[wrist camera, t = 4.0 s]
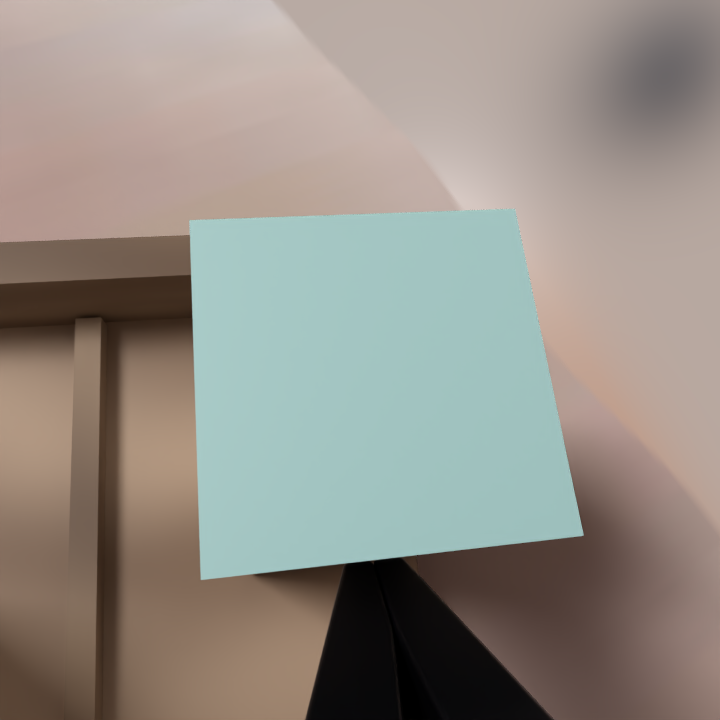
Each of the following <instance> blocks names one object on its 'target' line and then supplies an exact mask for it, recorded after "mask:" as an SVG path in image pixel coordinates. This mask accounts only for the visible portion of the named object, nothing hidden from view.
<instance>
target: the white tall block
mask: <svg viewBox="0 0 720 720" xmlns="http://www.w3.org/2000/svg"><path fill="white" fill-rule="evenodd" d="M189 221H190V253H191V285H192V317H193V348H194V380H195V412H196V444H197V476H198V507H199V539H200V571H201V580H206V579H215V578H223V577H232V576H241V575H250V574H258V573H267V572H276V571H284V570H293V569H301V568H310V567H319V566H327V565H336V564H345V563H353V562H362V561H371V560H379V559H388V558H396V557H405V556H414V555H422V554H431V553H440V552H448V551H457V550H465V549H474V548H483V547H491V546H500V545H509V544H517V543H526V542H534V541H543V540H552V539H560V538H569V537H577V536H584V535H583V530H582V525H581V520H580V516H579V511H578V506H577V501H576V497H575V492H574V487H573V482H572V478H571V473H570V468H569V463H568V459H567V454H566V449H565V444H564V440H563V435H562V430H561V425H560V421H559V416H558V411H557V406H556V402H555V397H554V392H553V387H552V383H551V378H550V373H549V368H548V364H547V359H546V354H545V349H544V345H543V340H542V335H541V330H540V326H539V321H538V316H537V312H536V307H535V302H534V297H533V292H532V288H531V283H530V278H529V274H528V269H527V264H526V259H525V255H524V250H523V245H522V240H521V235H520V231H519V226H518V221H517V216H516V212H515V209H496V210H466V211H438V212H410V213H381V214H353V215H324V216H296V217H267V218H239V219H211V220H189Z"/></svg>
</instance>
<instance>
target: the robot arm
mask: <svg viewBox="0 0 720 720" xmlns="http://www.w3.org/2000/svg"><path fill="white" fill-rule="evenodd" d="M305 720H554V719H553V718H552V717H551V716H550V715H549V714H548V713H547V712H546V710H545V709H544V708H543V707H542V706H541V705H540V704H539V703H538V702H537V701H536V700H535V699H534V698H533V697H532V695H531V694H530V693H529V692H528V691H527V690H526V689H525V688H524V687H523V686H522V685H521V684H520V683H519V682H518V681H517V679H516V678H515V677H514V676H513V675H512V674H511V673H510V672H509V671H508V670H507V669H506V668H505V667H504V666H503V664H502V663H501V662H500V661H499V660H498V659H497V658H496V657H495V656H494V655H493V654H492V653H491V652H490V651H489V650H488V648H487V647H486V646H485V645H484V644H483V643H482V642H481V641H480V640H479V639H478V638H477V637H476V636H475V635H474V634H473V632H472V631H471V630H470V629H469V628H468V627H467V626H466V625H465V624H464V623H463V622H462V621H461V620H460V619H459V617H458V616H457V615H456V614H455V613H454V612H453V611H452V610H451V609H450V608H449V607H448V606H447V605H446V604H445V603H444V601H443V600H442V599H441V598H440V597H439V596H438V595H437V594H436V593H435V592H434V591H433V590H432V589H431V588H430V586H429V585H428V584H427V583H426V582H425V581H424V580H423V579H422V578H421V577H420V576H419V575H418V574H417V573H416V572H415V570H414V569H413V568H412V567H411V566H410V565H409V564H408V563H407V562H406V561H405V560H404V559H403V558H401V557H396V558H388V559H379V560H376V561H374V563H372V562H371V561H362V562H353V563H346V564H345V565H344V567H343V570H342V574H341V578H340V582H339V586H338V590H337V594H336V598H335V602H334V606H333V610H332V614H331V618H330V622H329V626H328V630H327V634H326V638H325V642H324V646H323V650H322V654H321V658H320V662H319V666H318V670H317V674H316V678H315V682H314V686H313V690H312V694H311V698H310V702H309V706H308V710H307V714H306V718H305Z"/></svg>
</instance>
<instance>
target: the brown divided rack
mask: <svg viewBox="0 0 720 720" xmlns="http://www.w3.org/2000/svg"><path fill="white" fill-rule="evenodd" d="M401 558H403V559H404V560H405V561H406V562H407V563H408V564H409V565H410V566H411V567H412V568H413V569H414V570H415V572H416V573H417V574H418V567H417V560H416V555H414V556H405V557H401ZM374 561H376V560H371V562H372V563H374ZM345 564H346V563H345ZM345 564H336V565H327V566H319V567H310V568H301V569H293V570H284V571H276V572H267V573H258V574H250V575H241V576H232V577H223V578H215V579H206V580H201V571H200V539H199V507H198V476H197V444H196V412H195V380H194V348H193V317H192V285H191V253H190V235H184V236H158V237H132V238H106V239H80V240H54V241H28V242H2V243H0V720H305V718H306V714H307V710H308V706H309V702H310V698H311V694H312V690H313V686H314V682H315V678H316V674H317V670H318V666H319V662H320V658H321V654H322V650H323V646H324V642H325V638H326V634H327V630H328V626H329V622H330V618H331V614H332V610H333V606H334V602H335V598H336V594H337V590H338V586H339V582H340V578H341V574H342V570H343V567H344V565H345Z"/></svg>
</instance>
